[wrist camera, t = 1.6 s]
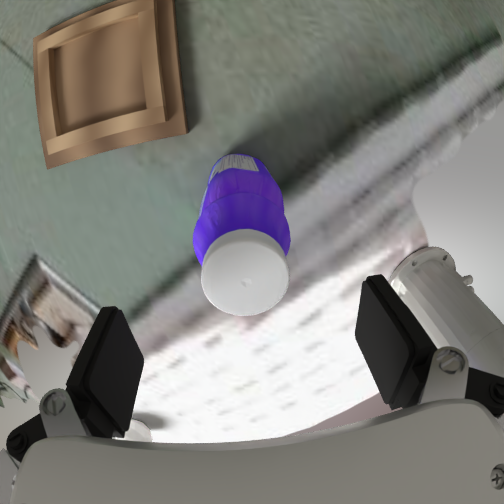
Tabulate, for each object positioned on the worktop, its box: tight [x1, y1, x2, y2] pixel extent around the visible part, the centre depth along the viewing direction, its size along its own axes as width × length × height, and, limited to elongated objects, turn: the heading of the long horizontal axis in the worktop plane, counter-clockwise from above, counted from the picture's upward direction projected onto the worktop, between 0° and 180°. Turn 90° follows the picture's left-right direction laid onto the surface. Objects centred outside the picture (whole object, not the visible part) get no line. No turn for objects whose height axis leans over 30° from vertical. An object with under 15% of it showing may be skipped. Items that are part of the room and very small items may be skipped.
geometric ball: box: [115, 419, 152, 442], centre depth 45 cm, size 8×8×8 cm
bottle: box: [193, 154, 291, 316], centre depth 21 cm, size 7×6×17 cm
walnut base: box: [33, 0, 189, 169], centre depth 20 cm, size 16×16×3 cm
